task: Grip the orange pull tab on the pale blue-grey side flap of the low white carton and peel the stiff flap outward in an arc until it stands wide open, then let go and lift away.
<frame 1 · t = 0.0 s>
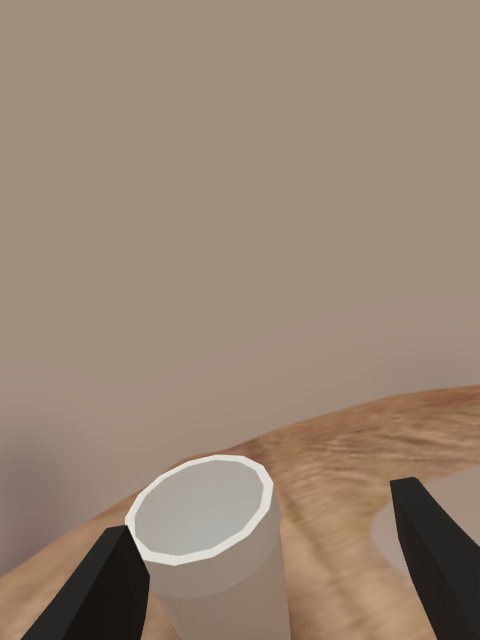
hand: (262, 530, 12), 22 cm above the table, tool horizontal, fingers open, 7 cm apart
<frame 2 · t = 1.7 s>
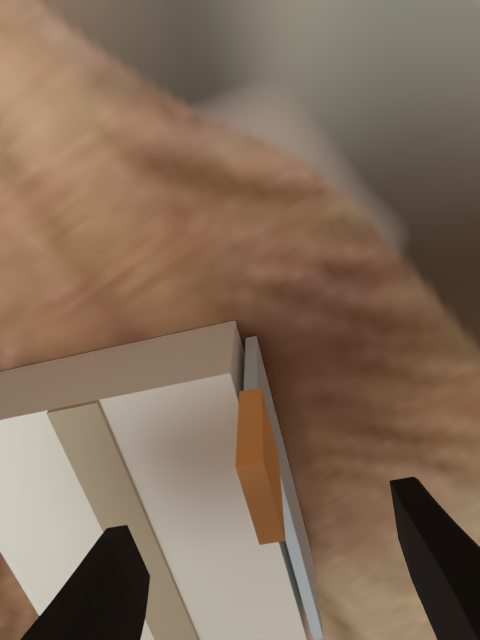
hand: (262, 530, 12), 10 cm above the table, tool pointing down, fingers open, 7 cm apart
carton: (163, 477, 24), on the table
carton flap: (288, 525, 19), point 5 cm above the table, hinge at 0.0°
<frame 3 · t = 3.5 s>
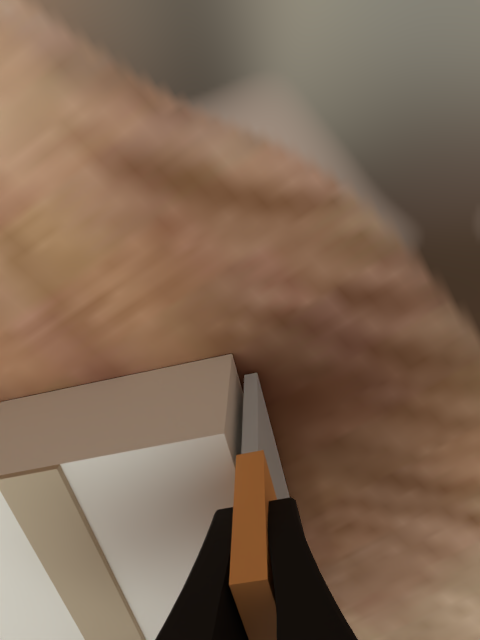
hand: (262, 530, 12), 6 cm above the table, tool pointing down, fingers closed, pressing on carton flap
carton: (149, 529, 21), on the table
carton flap: (296, 606, 15), point 5 cm above the table, hinge at 0.0°, touching gripper
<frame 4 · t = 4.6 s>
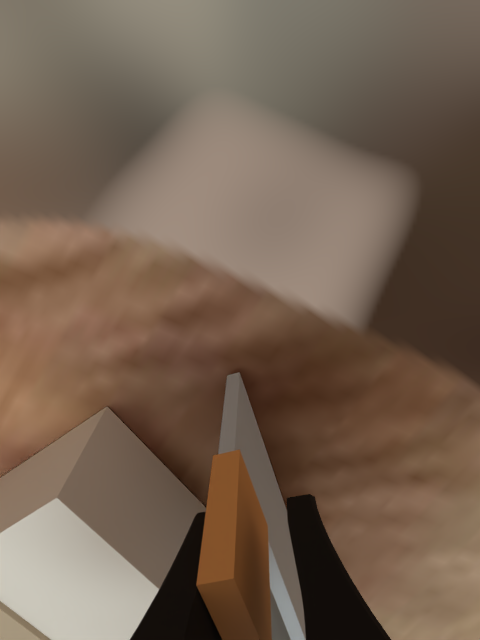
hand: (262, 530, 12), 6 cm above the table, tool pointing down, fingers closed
carton: (127, 578, 22), on the table
carton flap: (287, 604, 15), point 5 cm above the table, hinge at 19.5°, touching gripper
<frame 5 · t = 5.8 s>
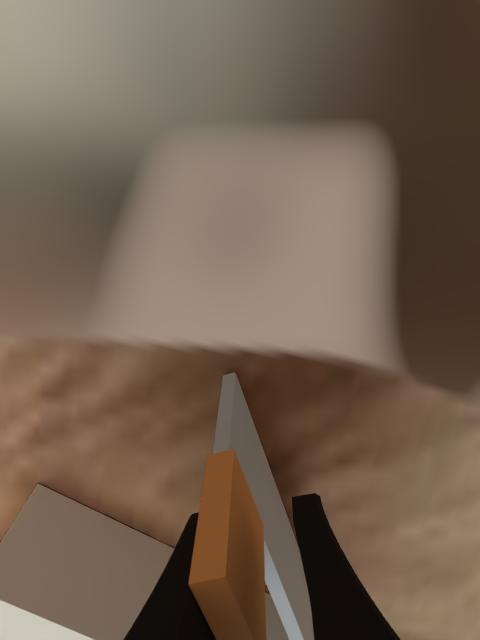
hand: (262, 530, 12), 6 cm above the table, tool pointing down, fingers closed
carton: (134, 625, 23), on the table
carton flap: (284, 603, 15), point 5 cm above the table, hinge at 40.0°, touching gripper
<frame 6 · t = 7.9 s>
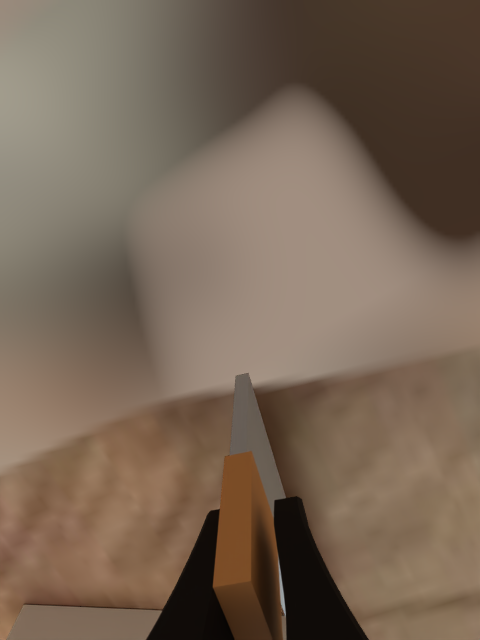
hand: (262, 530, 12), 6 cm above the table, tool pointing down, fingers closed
carton flap: (291, 606, 15), point 5 cm above the table, hinge at 73.5°, touching gripper
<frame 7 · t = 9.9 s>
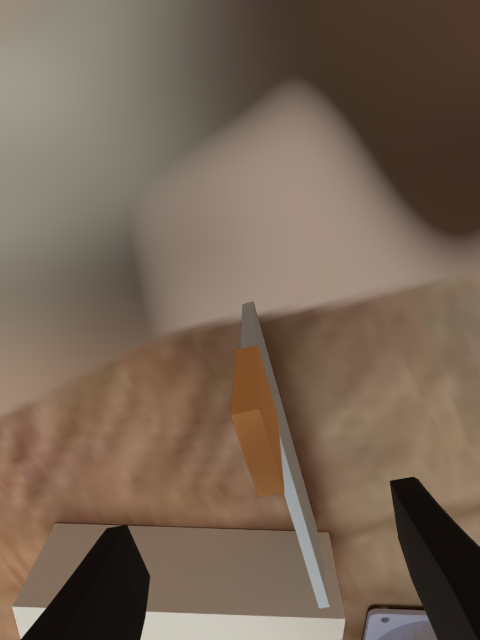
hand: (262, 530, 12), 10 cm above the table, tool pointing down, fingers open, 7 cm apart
carton: (193, 598, 28), on the table
carton flap: (290, 490, 18), point 5 cm above the table, hinge at 73.7°
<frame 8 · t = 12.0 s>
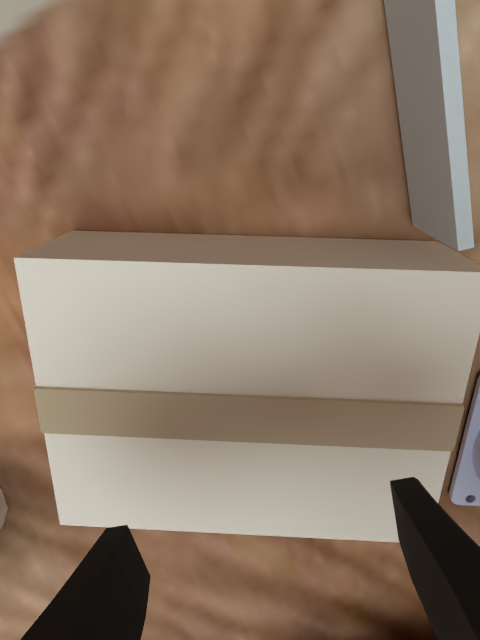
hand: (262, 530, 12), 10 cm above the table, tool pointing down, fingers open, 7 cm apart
carton: (248, 358, 22), on the table
carton flap: (440, 1, 12), point 5 cm above the table, hinge at 73.7°
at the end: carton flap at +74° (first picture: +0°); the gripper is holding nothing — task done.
